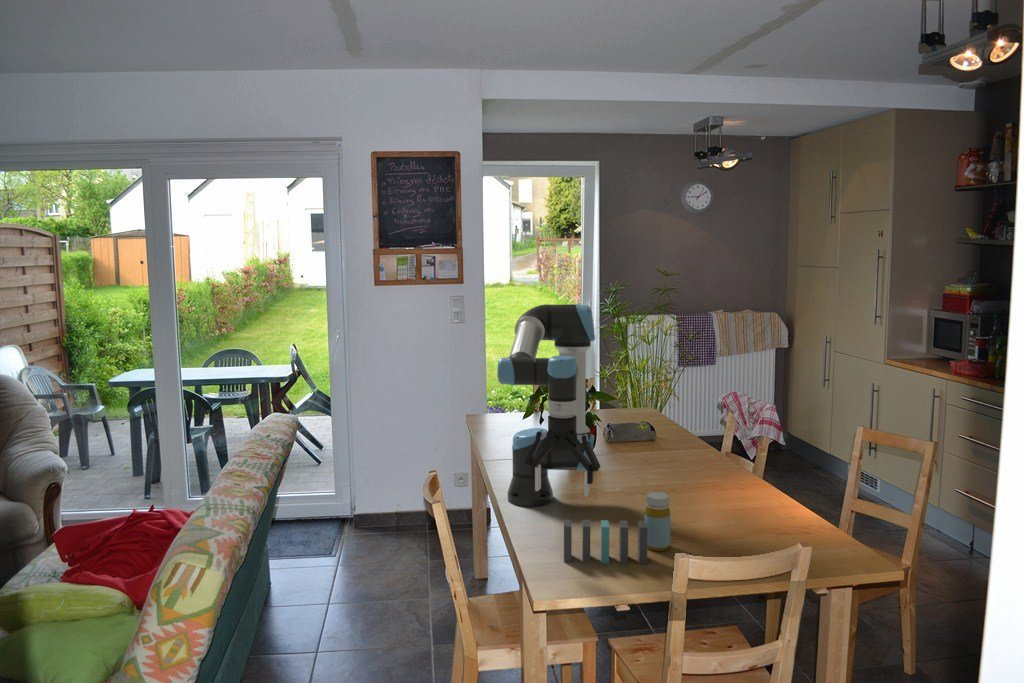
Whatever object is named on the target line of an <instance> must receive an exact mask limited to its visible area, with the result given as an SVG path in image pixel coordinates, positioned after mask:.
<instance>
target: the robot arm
mask: <svg viewBox="0 0 1024 683" xmlns="http://www.w3.org/2000/svg"><path fill="white" fill-rule="evenodd" d="M593 317H594V316H593V312H592V307H590V306H589V305H588V304H578V303H574V304H549V303H547V304H539V305H537V306H534V307H532V308H530V309H528V310H527V311H525V312H524V313H523V314H521V315H520V316H519V318H518V319H517V321H516V323H515V326H514V336H515V337H514V340H513V343H512V346H511V349H510V352H509V356H506V357H501V358H499V359H498V360H497V380H498V383H499V384H501V385H510V386H547V392H548V393H547V413H548V416H547V428H543V427H534V428H527V429H522V430H520V431H517V432H516V433H515V434H514V435H513V437H512V446H511V449H512V450H511V451H512V477H511V481H510V484H509V487H508V491H507V501H508V502H509V503H510V504H512V505H517V506H520V507H540V506H545V505H549V504H550V503H552V502H553V501H554V490H553V489H552V486H551V483H550V479H549V475H548V474H549V471H548V470H551V471H553V470H554V471H575V472H577V471H584V473H583V474H584V476H583V482H584V483H583V484H584V485H583V487H584V488H583V491H584V492H583V494H584V495H583V497H585V498H587V497H588V496H589V495H590V492H591V490H590V485H592V484H593V482H594V472H598V471H599V470H600V468H601V464H600V462H599V459H598V458H597V456H596V454H595V451H594V444H595V443H594V442H595V435H594V434H591V430H590V427H588V426H587V425H586V387H587V386H586V377H587V376H586V368H587V367H586V366H587V365H586V361H587V359H586V358H587V357H586V356H587V354H586V353H587V351H588V350H589V349H590V348H591V344H592V343H591V342H594V341H595V340H596V336H595V335H596V334H595V324H594V318H593ZM541 341H553V342H554V347H555V348H556V349H557V351H558V353H559V355H554V356H551V357H537V354H538V349H539V346H540V342H541Z"/></svg>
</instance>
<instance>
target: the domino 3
mask: <svg viewBox="0 0 1024 683" xmlns="http://www.w3.org/2000/svg"><path fill="white" fill-rule="evenodd" d="M609 523H610V522H609V520H606V519H603V520H601V519H600V560H601V564H610V524H609Z"/></svg>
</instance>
